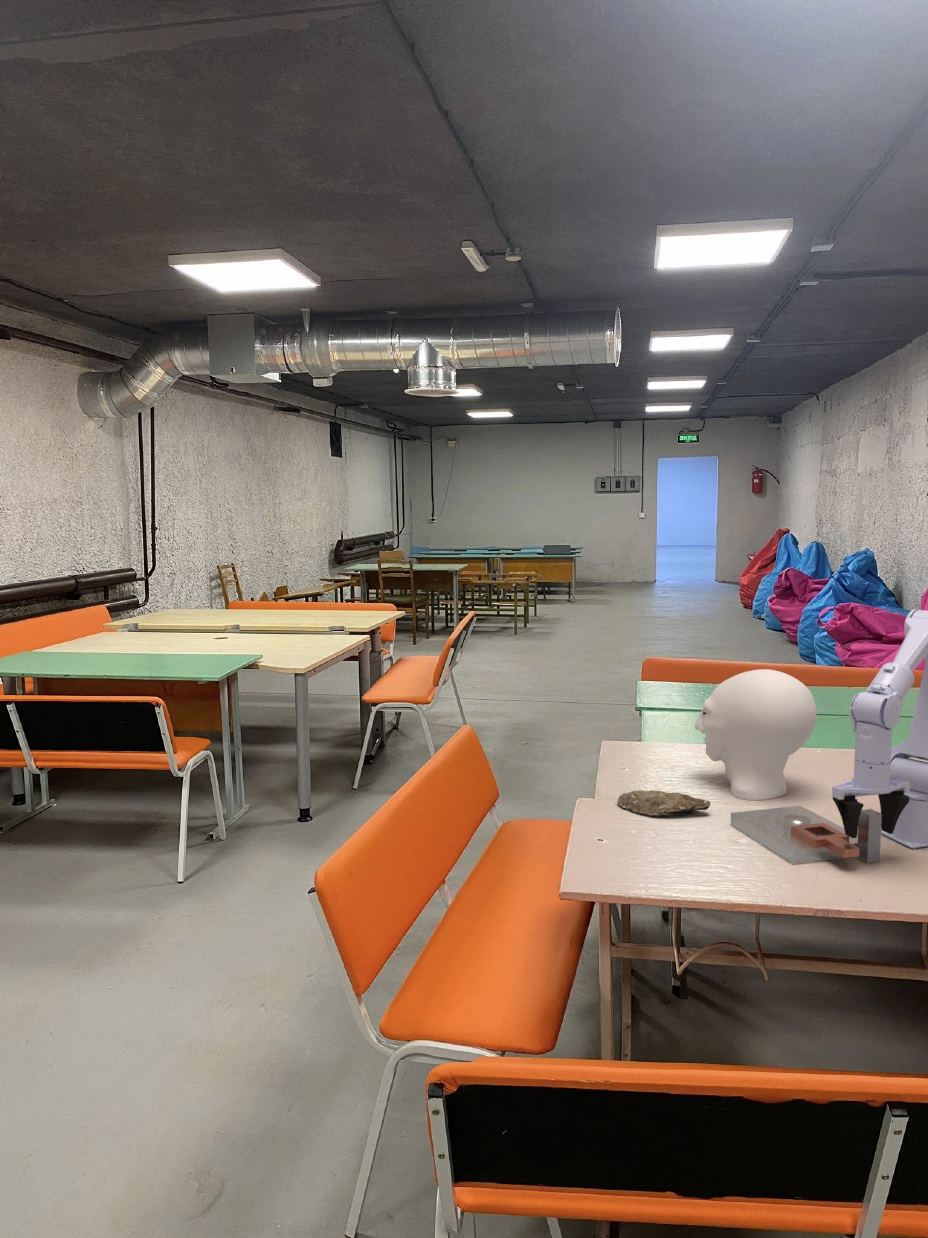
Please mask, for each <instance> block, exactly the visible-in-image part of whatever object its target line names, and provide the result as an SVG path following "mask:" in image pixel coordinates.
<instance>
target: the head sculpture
mask: <svg viewBox="0 0 928 1238" xmlns="http://www.w3.org/2000/svg"><path fill="white" fill-rule="evenodd" d="M702 706H703V709H702V710H701V711H700V712H699V715H698V718H697V719H696V722H694V723H695V724H694V729H695V730H697V731H700V733H702V734H705V736H704V737H705V738H704V739H703V740H704V742H703V743H704V744H705V754H706V755H707V757H709V759H710V760H711V761H714V762H718V761H721V762H723V765H724V769H725V776H726V778H727V779H728V781H729V782H730V794H731V795H732V796H733V797H735V798H736V799H740V800H744V801H746V800H747V801H766V800H772V799H776V798H779V797H783V796H785V795H786V793H787V782H786V778H785V775H784V770H785V767H786V765H787V762H788V760H789V757H790V756H791V755H793V754H795V753H796V752H797V751H799V749H801V747H802V746H804V744H805V743H807V741H808V740H809V738H810V736H812V733H813V731H814V730H815V727H816V723H817V717H818V714H817V713H818V712H817V711H818V710H817V705H816V702H815V699H814V696H813V693H812V692H811V691H810V689H809V688H808V687H807V686H806V685H805V684H804V683H803V682H801V681H800V680H799V679H797V678H795V677H794V676H792V675H789V674H788V673H785V672H782V671H778V670H775V669H767V668H765V669H763V668H761V669H760V668H759V669H753V670H748V671H744V672H741V673H739V674H736V675H733V676H731V677H730V678H728V679H725V680H723V681H722V682H721V683H719V684H718V685H717V686H716V687H715V688H714V689H713V690H712V692H711V694H710V695H709V696H708V698H706V699H705V700H704V702H703V704H702Z"/></svg>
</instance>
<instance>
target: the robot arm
mask: <svg viewBox="0 0 928 1238" xmlns="http://www.w3.org/2000/svg"><path fill="white" fill-rule="evenodd" d="M903 625H904V626H903V627H904V630H903V632H904V633H903V634H904V639H903V641H902V643H901V646H900V647H899V649H898V651H897V653H896V655H895V658H894V659H893V661H892V662H887V663H884V664H883V665H882V666H881V668H880V669H879V670H878V672H877V674H876V675H875V677H874V678H873V680H872V681H871V683H870V684H869V686H868V687H867V688H866V689H865V691H861V692H860V693H856V694H855V695H854V696H853V698H852V700H851V703H850V707H849V717H850V719H851V722H852V728H851V729H852V731H853V733H854V734H855V739H854V740H855V741H854V762H853V763H854V764H853V765H854V766H853V767H854V768H853V777H851V781H848V782H844V783H841V784H837V785H832V786H831V787H832V789H831V796H832V801H833V802H834V804H835V806H836V808H837V810H838V812H839V814H840V817H841V821H842V825H843V828H844V830H845V835H847V836H849V837H851V838H856V837H857V835H858V822H859V817H860V813H861V810H863V807H864V806H865V804H864V803H862V802H860V801H858V799H857V797H865V796H878V801H879V806H880V813H881V814H882V821H881V835H883V836H885V837H887V838H890V839H891V840H893V841H895V842H897V843H899V844H902V845H904V846H906V847H907V848H910V849H918V848H927V847H928V610H922V609H917V608H915V609H912V610H911V611H909V613H908V614H907V615H906V617H905V620H904V624H903ZM923 660H924V661H925V665H924V668H923V669H924V670H923V674H922V677H921V681H920V687H919V689H918V694H917V698H916V701H915V702H916V703H915V707H914V712H913V715H912V720H911V723H910V727H909V732H908V736H907V740H905V741H903V742H900V743H898V744H896V745H893V746H892V742H893V741H892V739H893V729H894V728H895V726H896V725H897V724H898V722H899V720H900V716H901V711H902V709H903V706H904V703H903V700H904V699H905V697H906V695H907V694H908V692H909V690H910V689H911V687H912V686H913V684H914V682H915V675H914V673H913V672H914V671H915V669H916V668H917V667H918V666H919V665H920V664H921V662H922V661H923ZM917 759H918V760H917Z"/></svg>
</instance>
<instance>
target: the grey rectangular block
mask: <svg viewBox="0 0 928 1238" xmlns="http://www.w3.org/2000/svg"><path fill="white" fill-rule="evenodd" d="M881 821H882V814H881V812H879V811H876V810H874V809H872V808H868V809H867V808H866V809H862V810H861V813H860V817H859V822H858V833H857V835H858V843H857V847H858V848H859V856H857V857H856V859H857V860H859V861H861V862H862V863H864V864H866V865H871V864H878V863H879V864H880V862H881V861H880V860H881V842H882V841H881V839H882V834H881V831H882V830H881Z"/></svg>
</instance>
